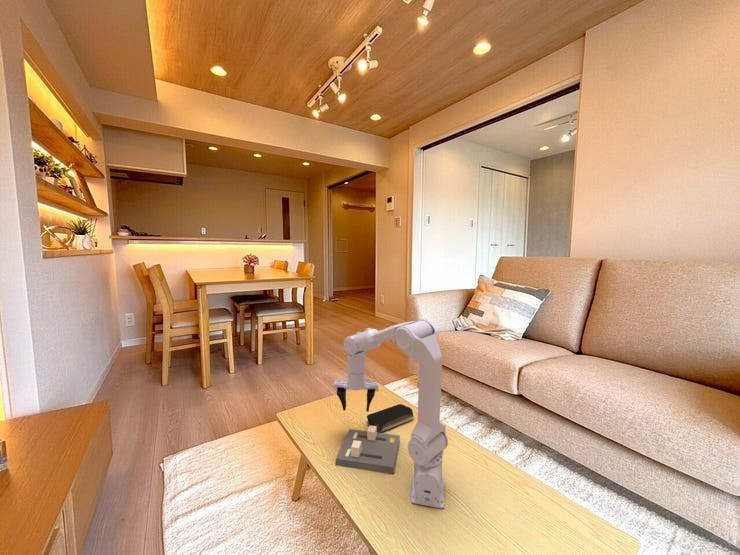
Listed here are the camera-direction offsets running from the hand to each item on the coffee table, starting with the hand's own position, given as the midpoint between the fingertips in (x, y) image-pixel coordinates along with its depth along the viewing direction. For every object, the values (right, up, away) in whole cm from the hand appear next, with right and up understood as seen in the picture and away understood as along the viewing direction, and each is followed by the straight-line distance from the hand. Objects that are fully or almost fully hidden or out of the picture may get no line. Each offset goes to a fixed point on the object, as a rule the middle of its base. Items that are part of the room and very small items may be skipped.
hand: (356, 409), depth 98 cm
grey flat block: (+4, -10, -6) cm, 13 cm away
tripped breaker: (+5, -8, -3) cm, 10 cm away
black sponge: (+12, -9, +9) cm, 18 cm away
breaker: (+1, -9, -10) cm, 13 cm away
